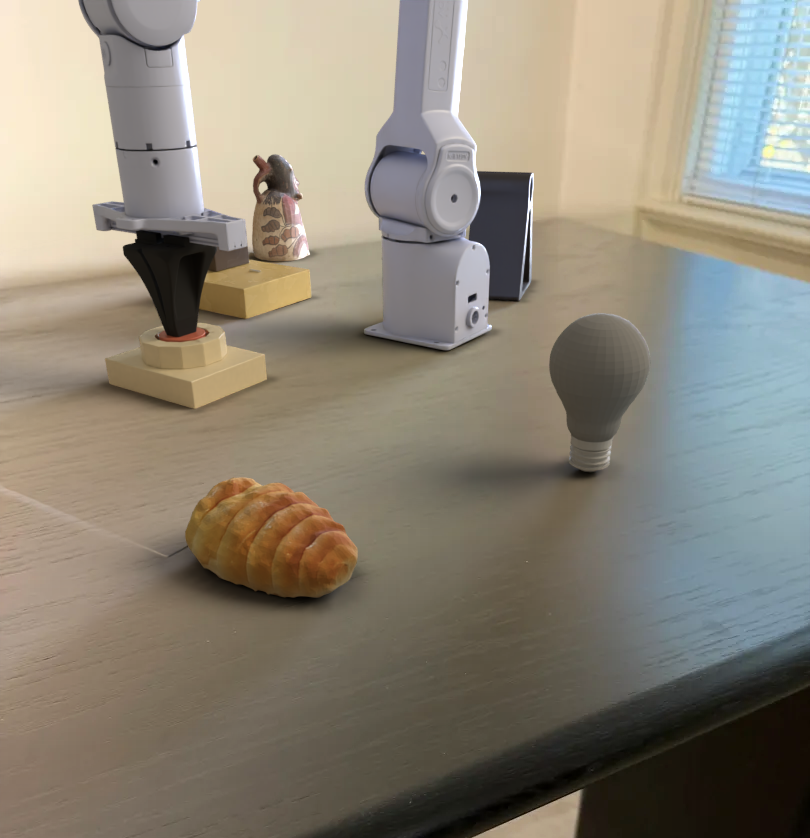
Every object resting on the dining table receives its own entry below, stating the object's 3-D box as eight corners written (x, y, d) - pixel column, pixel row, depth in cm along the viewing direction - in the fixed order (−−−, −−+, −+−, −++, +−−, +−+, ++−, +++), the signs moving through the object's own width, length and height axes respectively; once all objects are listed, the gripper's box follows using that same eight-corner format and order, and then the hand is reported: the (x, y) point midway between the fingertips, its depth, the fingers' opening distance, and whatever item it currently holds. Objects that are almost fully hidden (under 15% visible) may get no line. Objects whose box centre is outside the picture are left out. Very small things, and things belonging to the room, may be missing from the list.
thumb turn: (240, 261, 97) (236, 224, 95) (249, 263, 96) (246, 226, 94) (206, 270, 93) (202, 232, 92) (216, 272, 93) (211, 233, 91)
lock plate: (311, 297, 95) (309, 267, 94) (246, 319, 88) (243, 287, 87) (227, 282, 102) (224, 253, 100) (160, 301, 94) (156, 271, 93)
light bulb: (571, 442, 61) (584, 296, 56) (652, 465, 58) (673, 312, 53) (523, 471, 57) (533, 317, 52) (607, 498, 54) (626, 335, 49)
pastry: (389, 566, 47) (387, 502, 45) (300, 626, 42) (294, 558, 40) (264, 516, 52) (257, 456, 50) (173, 565, 47) (162, 501, 45)
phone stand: (518, 301, 93) (525, 179, 87) (463, 298, 95) (465, 177, 89) (531, 281, 101) (538, 167, 95) (480, 278, 102) (483, 166, 96)
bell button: (217, 352, 71) (214, 331, 71) (183, 364, 69) (180, 342, 68) (186, 344, 73) (183, 324, 72) (152, 356, 71) (148, 334, 70)
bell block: (267, 379, 73) (263, 331, 71) (194, 409, 67) (188, 358, 65) (183, 358, 78) (177, 313, 76) (108, 384, 72) (100, 336, 70)
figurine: (316, 258, 112) (310, 155, 106) (260, 263, 110) (251, 158, 104) (300, 247, 118) (294, 149, 112) (247, 252, 115) (238, 152, 109)
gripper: (46, 146, 64) (81, 330, 71) (184, 159, 57) (209, 363, 64) (124, 138, 69) (150, 311, 76) (260, 148, 62) (275, 338, 69)
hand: (181, 333), depth 70 cm, fingers closed, pressing on bell button
